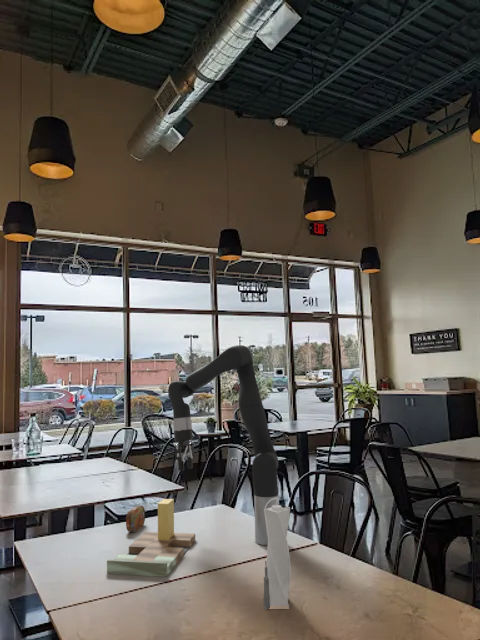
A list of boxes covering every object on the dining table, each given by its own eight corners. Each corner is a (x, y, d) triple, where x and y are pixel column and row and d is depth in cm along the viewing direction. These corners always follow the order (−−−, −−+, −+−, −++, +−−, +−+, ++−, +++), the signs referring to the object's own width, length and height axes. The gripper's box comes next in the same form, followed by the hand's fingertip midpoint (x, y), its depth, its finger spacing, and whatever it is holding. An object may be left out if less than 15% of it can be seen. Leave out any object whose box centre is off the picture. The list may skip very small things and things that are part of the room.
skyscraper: (263, 597, 149) (261, 496, 152) (291, 597, 149) (288, 496, 152) (263, 610, 141) (261, 504, 144) (293, 610, 141) (290, 504, 143)
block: (164, 533, 200) (163, 498, 202) (174, 534, 200) (173, 499, 201) (157, 539, 193) (157, 503, 195) (168, 540, 193) (168, 503, 194)
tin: (131, 534, 208) (131, 513, 209) (124, 534, 209) (124, 512, 210) (146, 523, 223) (145, 503, 224) (139, 523, 223) (139, 503, 224)
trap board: (145, 538, 203) (145, 527, 203) (195, 540, 199) (195, 529, 200) (106, 573, 168) (106, 560, 169) (166, 576, 165) (166, 563, 165)
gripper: (181, 429, 224) (184, 468, 220) (167, 430, 210) (169, 472, 207) (197, 428, 222) (200, 467, 218) (184, 428, 208) (187, 470, 205)
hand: (185, 469), depth 213 cm, fingers open, 8 cm apart
